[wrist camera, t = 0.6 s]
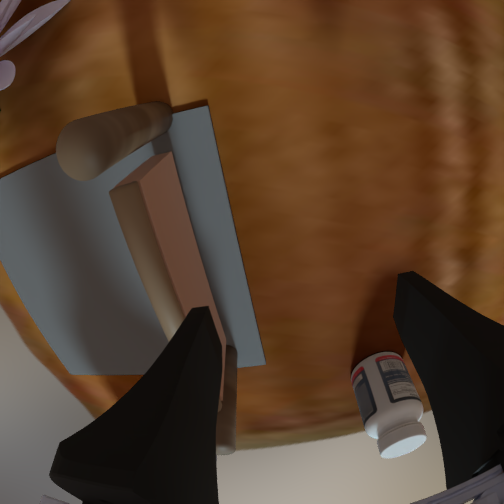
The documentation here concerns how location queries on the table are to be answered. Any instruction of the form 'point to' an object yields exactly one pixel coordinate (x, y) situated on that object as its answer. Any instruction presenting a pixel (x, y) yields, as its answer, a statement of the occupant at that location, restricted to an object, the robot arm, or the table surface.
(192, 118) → the mat
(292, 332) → the table surface
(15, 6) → the water lily
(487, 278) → the table surface
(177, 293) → the brown rimmed panel
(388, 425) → the pill bottle
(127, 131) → the brown wooden posts
